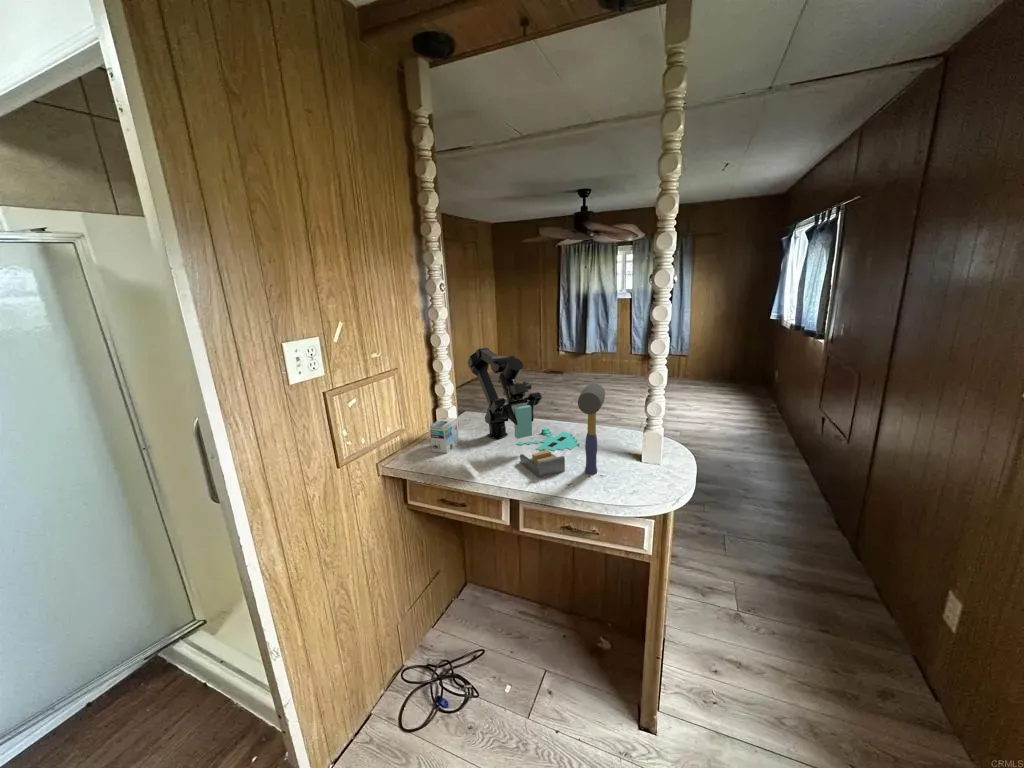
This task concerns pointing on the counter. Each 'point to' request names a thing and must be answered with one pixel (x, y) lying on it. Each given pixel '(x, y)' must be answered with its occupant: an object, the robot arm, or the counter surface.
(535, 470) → the rack
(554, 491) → the counter surface
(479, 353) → the robot arm
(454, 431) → the light bulb box
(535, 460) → the offcut
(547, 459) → the offcut
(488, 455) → the counter surface
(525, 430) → the teal rectangular block
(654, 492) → the counter surface
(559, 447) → the alien figure
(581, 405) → the rubber mallet
